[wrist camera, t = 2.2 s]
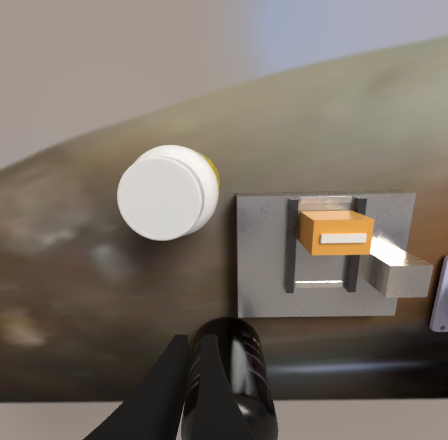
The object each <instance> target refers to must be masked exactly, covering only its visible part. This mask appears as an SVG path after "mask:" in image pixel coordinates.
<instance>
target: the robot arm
mask: <svg viewBox="0 0 448 440" xmlns="http://www.w3.org/2000/svg"><path fill="white" fill-rule="evenodd" d="M430 329H431V330H433V331H434V332H448V256H446V257H445V258H444V262H443V266H442V271H441V275H440V280H439V285H438V289H437V294H436V298H435V303H434V307H433V312H432V317H431V321H430ZM189 371H190V361H189V347H188V335H175V336H174V338H173V339H172V341H171V342H170V344H169V345H168V347H167V348H166V350H165V351H164V353H163V354H162V356H161V357H160V358H159V360H158V361H157V363H156V364H155V365H154V367H153V368H152V369H151V371H150V372H149V373H148V374H147V376H146V377H145V378H144V379H143V380H142V382H141V383H140V384H139V385H138V386H137V388H136V389H135V390H134V391H133V392H132V393H131V394H130V395H129V397H128V398H127V399H126V400H125V401H124V402H123V403H122V404H121V405H120V406H119V407H118V408H117V409H116V410H115V411H114V412H113V413H112V414H111V415H110V416H109V417H108V418H107V419H106V420H105V421H103V422H102V423H101V424H100V425H99V426H98V427H97V428H96V429H95V430H93V431H92V432H91V433H90V434H89V435H88V436H86V437H85V438H84V439H83V440H176V436H177V432H178V427H179V423H180V418H181V414H182V410H183V405H184V401H185V397H186V392H187V387H188V379H189ZM190 440H257V439H256V437H255V435H254V434H253V432H252V430H251V428H250V426H249V425H248V423H247V421H246V419H245V418H244V416H243V414H242V412H241V410H240V408H239V406H238V403H237V401H236V399H235V397H234V395H233V392H232V390H231V387H230V385H229V382H228V380H227V377H226V374H225V371H224V368H223V364H222V361H221V357H220V353H219V348H218V336H217V335H216V334H207V335H203V340H202V344H201V368H200V386H199V393H198V400H197V406H196V412H195V417H194V423H193V428H192V433H191V439H190Z"/></svg>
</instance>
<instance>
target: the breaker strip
mask: <svg viewBox="0 0 448 440" xmlns="http://www.w3.org/2000/svg"><path fill="white" fill-rule="evenodd" d="M415 196H416V193H414V192H407V191H401V190H373V191H327V192H281V193H236V233H237V308H238V318H242V317H319V316H395V311H396V305H397V299H398V297H427V294H428V290H429V285H430V280H431V275H432V270H433V265H431V264H429V263H427V262H425V261H423V260H421V259H419V258H417V257H415V256H413V255H411V254H409V253H407V252H406V248H407V242H408V236H409V231H410V225H411V219H412V213H413V208H414V202H415ZM346 210H352V211H354V212H357V213H359V214H362V215H364V216H367V217H370V218H372V219H375V220H374V227H373V235H372V242H371V250H370V255H313V256H312V255H311V254H310V253H309V252H308V251H307V250H306V249H305V248H304V247H303V245H302V244H301V243H300V242H299V227H300V211H346Z"/></svg>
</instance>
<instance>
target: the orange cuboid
mask: <svg viewBox="0 0 448 440" xmlns="http://www.w3.org/2000/svg"><path fill="white" fill-rule="evenodd" d="M374 220H375V219H372V218H370V217H367V216H364V215H362V214H359V213H357V212H354V211H352V210H346V211H300V227H299V242H300V243H301V244H302V245H303V247H304V248H305V249H306V250H307V251H308V252H309V253H310V254H311V255H312V256H313V255H370V250H371V242H372V235H373V227H374Z"/></svg>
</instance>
